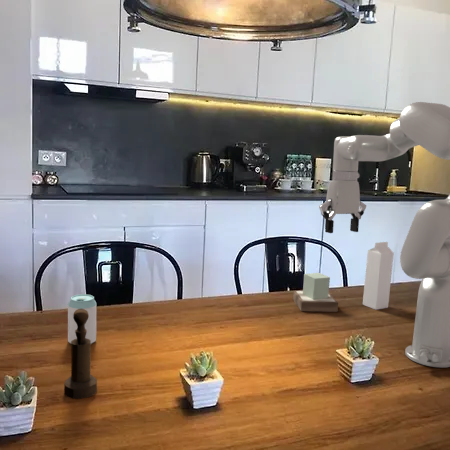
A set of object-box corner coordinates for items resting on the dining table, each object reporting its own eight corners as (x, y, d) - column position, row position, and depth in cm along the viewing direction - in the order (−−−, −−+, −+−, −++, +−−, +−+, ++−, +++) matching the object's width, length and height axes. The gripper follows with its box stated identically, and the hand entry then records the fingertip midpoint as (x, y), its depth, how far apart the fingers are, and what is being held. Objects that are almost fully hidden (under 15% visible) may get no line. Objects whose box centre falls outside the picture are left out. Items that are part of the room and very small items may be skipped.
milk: (362, 304, 180) (367, 241, 177) (374, 302, 184) (380, 239, 180) (376, 310, 175) (382, 244, 172) (388, 307, 179) (394, 243, 175)
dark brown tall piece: (84, 381, 116) (85, 302, 113) (103, 391, 112) (104, 309, 109) (58, 391, 111) (57, 309, 108) (76, 402, 107) (76, 317, 104)
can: (99, 344, 136) (100, 299, 134) (72, 349, 133) (72, 303, 130) (91, 335, 142) (91, 292, 140) (64, 339, 138) (64, 295, 136)
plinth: (337, 311, 172) (338, 302, 171) (301, 311, 170) (301, 301, 170) (327, 300, 183) (327, 291, 183) (292, 299, 182) (293, 290, 182)
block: (328, 297, 175) (329, 277, 174) (313, 299, 172) (314, 278, 171) (317, 292, 180) (319, 272, 179) (302, 294, 178) (304, 273, 177)
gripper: (359, 176, 171) (355, 229, 173) (314, 176, 163) (311, 231, 165) (375, 177, 164) (371, 232, 166) (329, 177, 157) (326, 234, 159)
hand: (341, 232), depth 166 cm, fingers open, 9 cm apart
